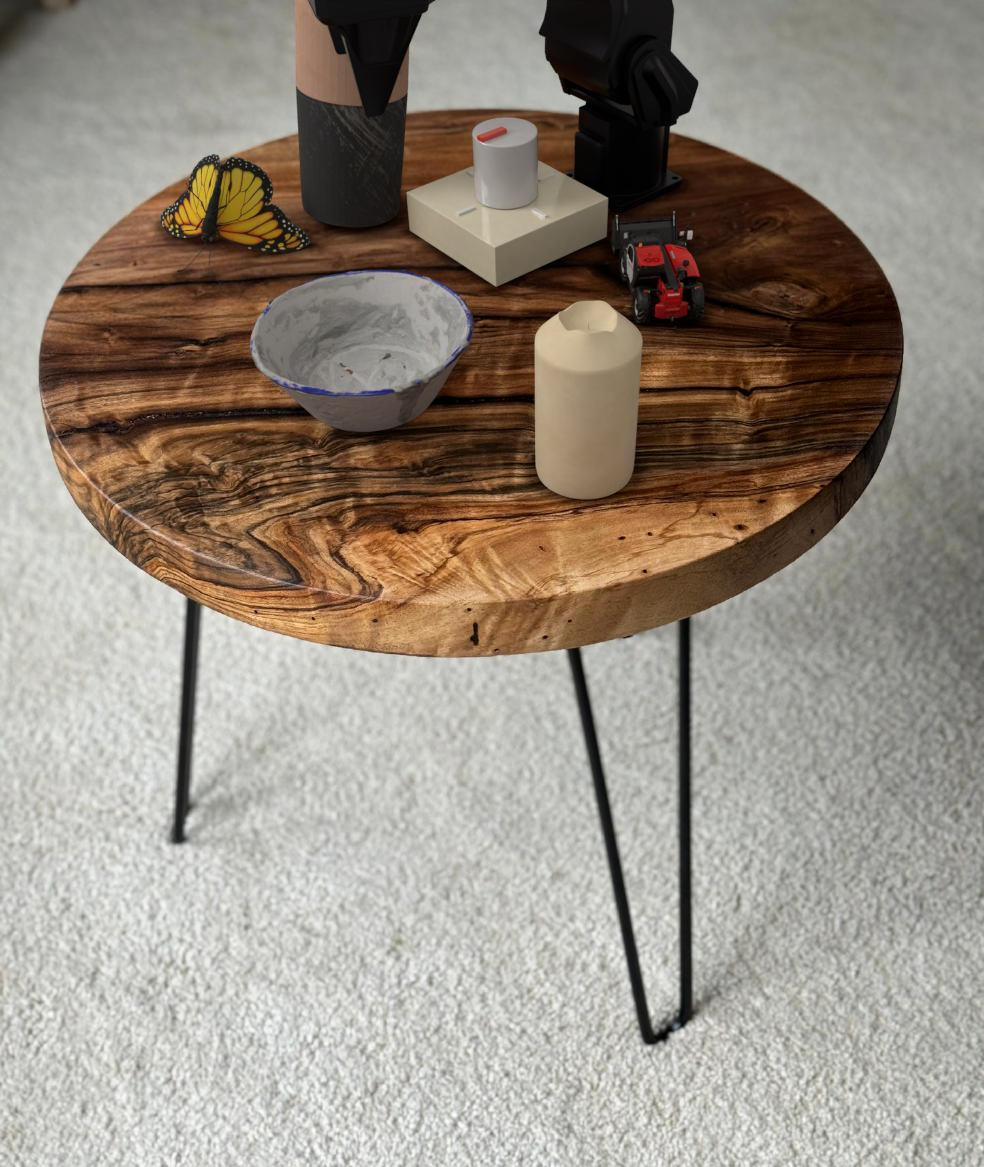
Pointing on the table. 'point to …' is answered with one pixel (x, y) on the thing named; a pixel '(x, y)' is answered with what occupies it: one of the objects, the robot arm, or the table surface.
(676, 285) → the loader
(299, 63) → the travel mug
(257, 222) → the butterfly
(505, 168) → the tap knob
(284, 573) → the table surface
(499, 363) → the table surface
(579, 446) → the candle
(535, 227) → the plate
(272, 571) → the table surface
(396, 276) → the bowl
